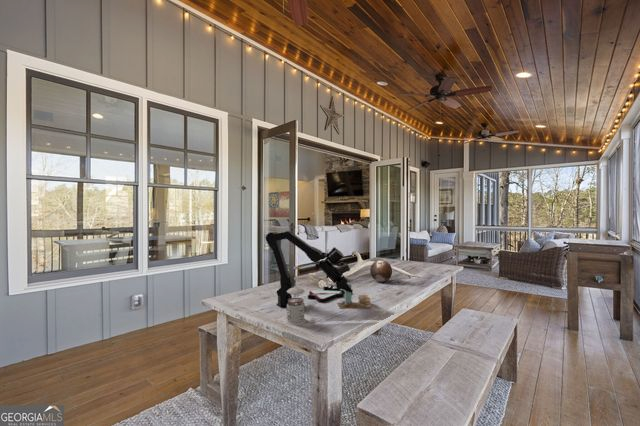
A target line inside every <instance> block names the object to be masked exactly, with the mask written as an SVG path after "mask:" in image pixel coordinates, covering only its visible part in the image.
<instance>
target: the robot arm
mask: <svg viewBox="0 0 640 426" xmlns="http://www.w3.org/2000/svg"><path fill="white" fill-rule="evenodd" d="M282 240H288V241H289V242H290V243H292V244H293V245H294V246H296V248H299V249H300V250H301V251H302V252H304V254H305V255H306V256H307V258H308V259H309V260H310V261H311V262H313V263H315V270H316V271H317V270H319V269H320V270H321V271H322V272H323V273H324V274H325V276H326V275H327V276H328V277H329V278H330V279H331V280H332V281H333V283H334V284H335V285H336V287H337V288H338V289H339V290H340V289H343V290H345V291H348V292H350V293H351V292H352V290H353V289H352V288H351V289H352V290H351V289H350V287H349V286H348V284H349V283H348V281H349V280H348V279H347V277H346V276H345V275H344V274H345V273H347V272H350V271H351V268H350V266H349V265H348V263H346V262H345V263H344V262H343V261H341V260H342V259H343V258H344V254H343V252H342V251H341V250H339V249H338V248H336V247H334V246H333V248H332V249H330V251H329V252H323V251H322V250H321V249H318V248H316V247H314V246H312V245H310V244H308V243H307V242H306V241H304V240H303V239H301V237H299V236H297V235H296V234H295V233H293V232H292V231H291V230H287V231H283V232H278V231H272V232H268V233H267V234H266V236H265V241H266V243H267V244H268V246H269V248H270V249H271V250H272V254H273V255H274V260H275V263H276V266H277V269H278V273H279V276H280V281H279V285H280V288H279V289H277V290H276V295H277V303H276V306H278V307H280V308H281V309H282V308H287V303H288V299H290V298H293V295H292V294H289V293H287V290H289V289H290V288H294V287H295V275H294V274H292V275H291V274H290V272H289V270H288V266H287V264H286V260H285V257H284V254H283V253H284V252H283V251H282V247H281V246H282ZM318 262H319V263H318ZM337 263H339V266H338V268H336V267H334V266H333V265H337ZM327 276H326V277H327Z"/></svg>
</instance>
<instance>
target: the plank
mask: <svg viewBox="0 0 640 426" xmlns="http://www.w3.org/2000/svg"><path fill="white" fill-rule="evenodd" d="M347 284H348V286H349V287H350V289H352V283H347ZM344 301H345V304H348V303H351V301H352V294H351V293H350V292H348V291H345V295H344Z"/></svg>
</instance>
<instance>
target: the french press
mask: <svg viewBox="0 0 640 426" xmlns="http://www.w3.org/2000/svg"><path fill="white" fill-rule="evenodd" d="M298 269H299V268H298V266H293V270H295V271H294V273H295V275H294V280H295V287H294V288H290V289H289V290H287V293H289V294H291V295H292V296H293V297H292V298H290V299H288V303H287V307H286V319H285V320H284V324H286V325H289V326H301V325H304V324H306V323H307V319H306V318H305V302H304V299H303V298H301V297H297V296H299V295H301V294H305V292H306V291H305V290H304V289H303V288H301V287H297V270H298Z"/></svg>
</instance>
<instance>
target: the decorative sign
mask: <svg viewBox="0 0 640 426" xmlns="http://www.w3.org/2000/svg"><path fill="white" fill-rule="evenodd" d="M351 290H352V292H351V295H354V294H353V291H354V290H353V289H352V288H351ZM344 296H345V290H343V289H340V290H339V289H338V288H337V287H336V283H334V284H333V283H331V284H329V285H324V286H323V288H322V289H311V290H309V294H308V295H307V300H315V301H316V302H318V303H320V304H323V303H326V302H329V301H332V300H334V299H337V298H338V299H339V298H340V299H341V298H344Z"/></svg>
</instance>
